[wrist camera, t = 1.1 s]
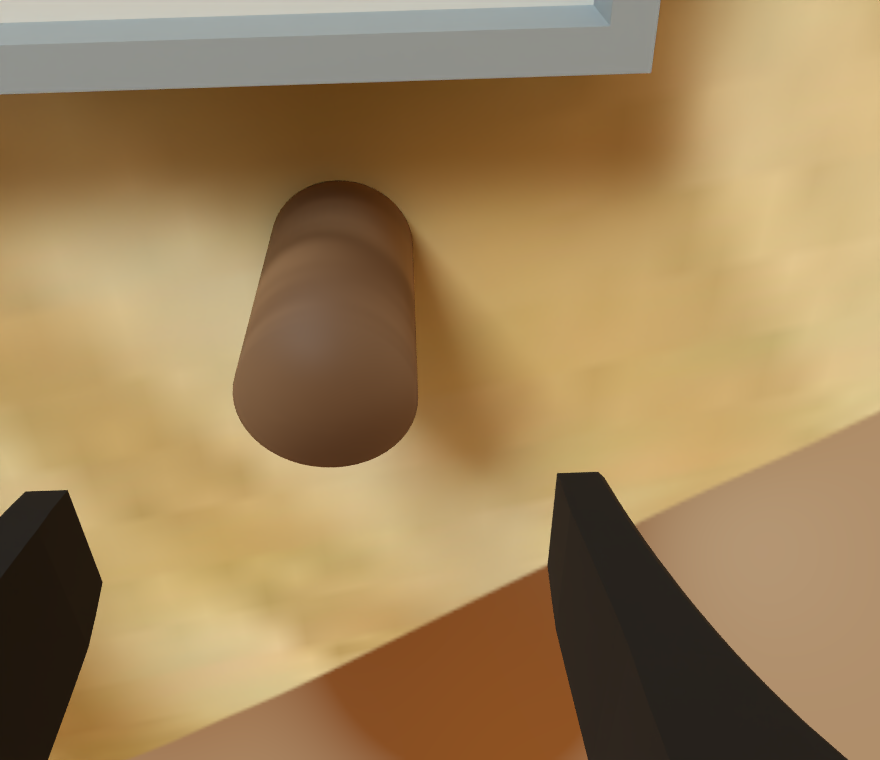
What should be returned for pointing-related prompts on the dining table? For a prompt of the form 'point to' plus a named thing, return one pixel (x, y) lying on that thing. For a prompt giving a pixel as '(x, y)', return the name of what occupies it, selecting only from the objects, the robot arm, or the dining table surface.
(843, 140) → the dining table surface
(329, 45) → the crate
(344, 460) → the peg
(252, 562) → the dining table surface
